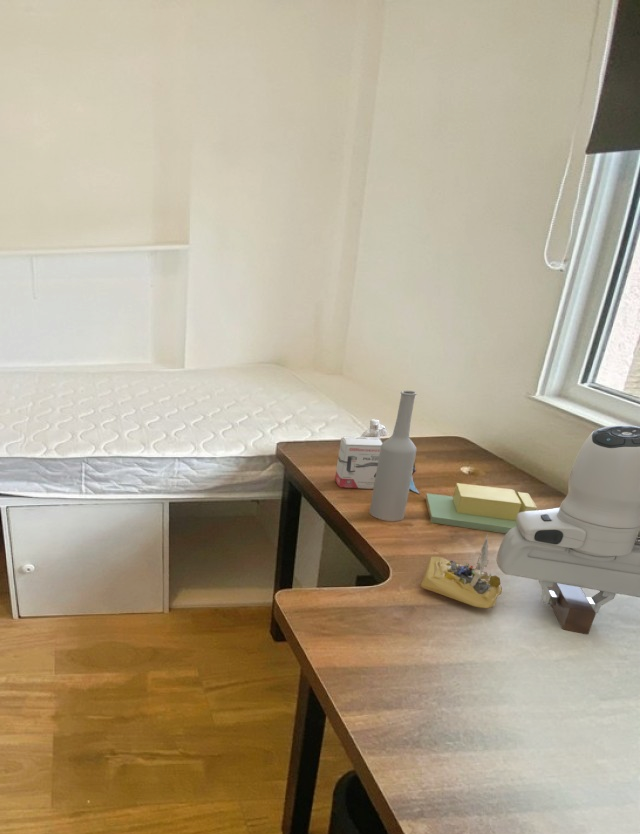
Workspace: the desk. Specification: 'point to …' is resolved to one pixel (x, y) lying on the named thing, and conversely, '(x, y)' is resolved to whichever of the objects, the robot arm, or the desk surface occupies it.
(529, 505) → the butter pat
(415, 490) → the knife
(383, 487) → the bottle
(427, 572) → the toy boat
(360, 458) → the ink box
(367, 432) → the koala figurine
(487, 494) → the butter
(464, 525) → the butter dish
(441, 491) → the desk surface
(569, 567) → the robot arm
